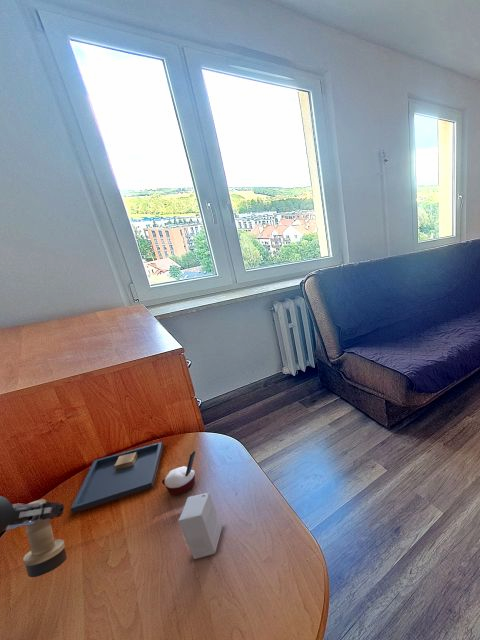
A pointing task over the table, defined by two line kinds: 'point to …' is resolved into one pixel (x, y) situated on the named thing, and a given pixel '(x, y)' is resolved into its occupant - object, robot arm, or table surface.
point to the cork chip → (126, 461)
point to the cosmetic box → (200, 525)
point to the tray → (118, 477)
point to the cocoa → (180, 478)
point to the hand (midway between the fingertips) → (49, 512)
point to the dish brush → (43, 548)
